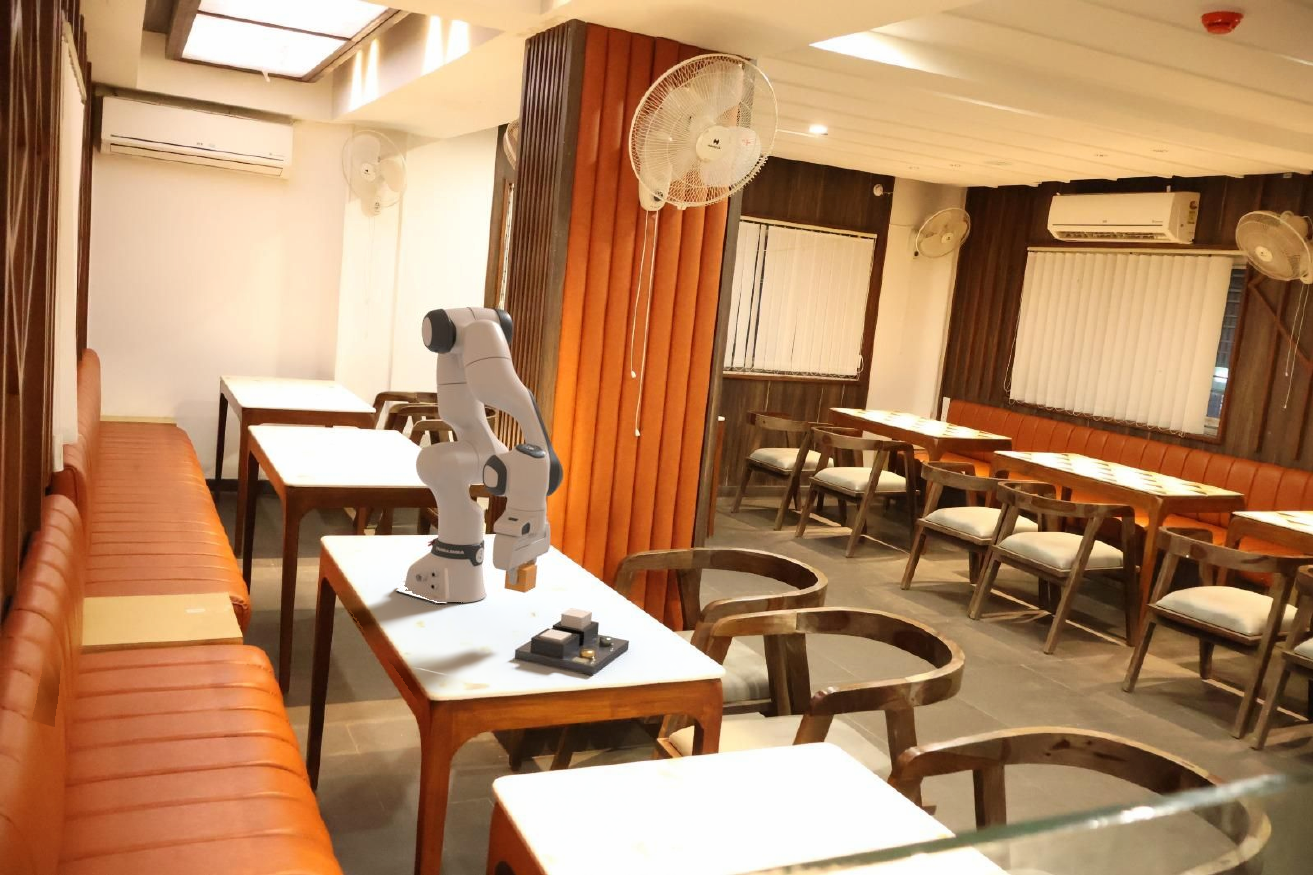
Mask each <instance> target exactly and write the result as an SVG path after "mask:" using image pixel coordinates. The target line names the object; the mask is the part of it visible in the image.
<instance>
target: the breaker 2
mask: <svg viewBox="0 0 1313 875" xmlns="http://www.w3.org/2000/svg"><path fill="white" fill-rule="evenodd" d="M592 613H593V612H592V611H587V610H583V609H578V608H573V607H572V608H569V609H567V610H566V611H564V612H562V613H561V618H560V621H561V625H562V626H567V627H571V628H576V629H581V630H582V629H584V628H586V627H587V626H589V625H590V624H591V621H592V617H593V615H592Z"/></svg>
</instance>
